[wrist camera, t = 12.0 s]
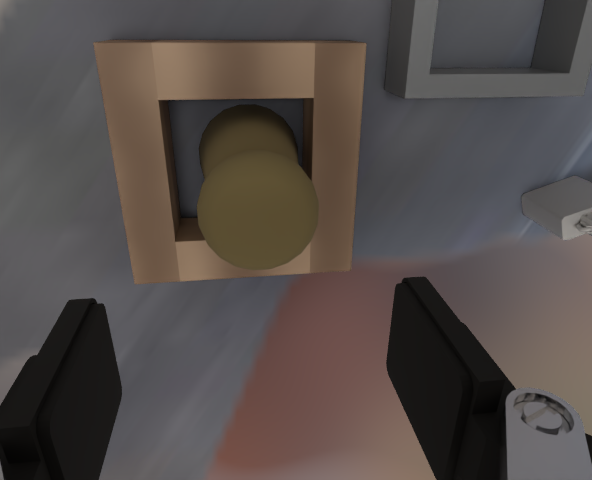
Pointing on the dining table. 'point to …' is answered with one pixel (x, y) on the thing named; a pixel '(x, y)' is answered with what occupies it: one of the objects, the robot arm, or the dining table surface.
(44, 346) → the robot arm
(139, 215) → the socket block
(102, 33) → the dining table surface
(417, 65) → the grey square frame
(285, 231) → the cork
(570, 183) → the lighter
